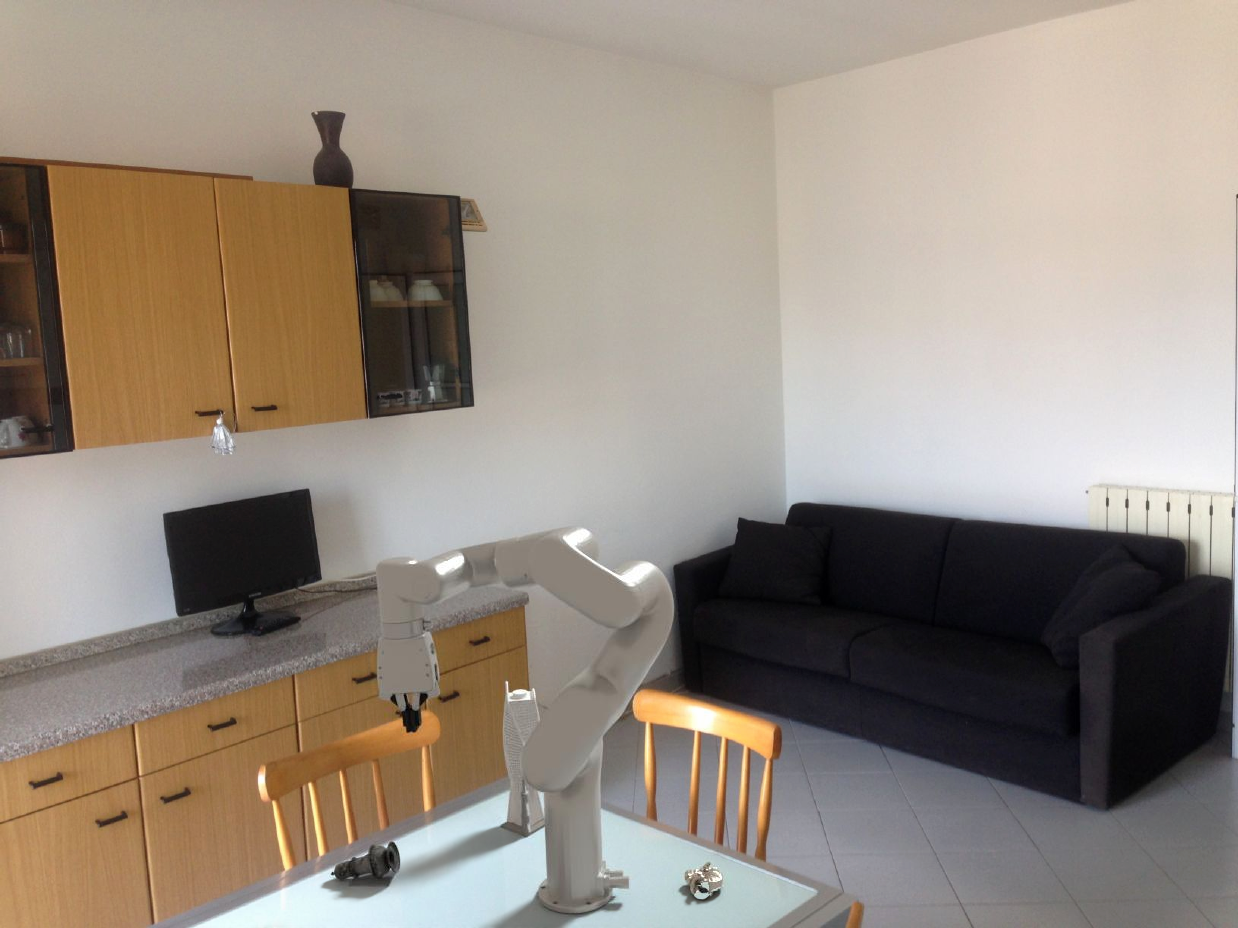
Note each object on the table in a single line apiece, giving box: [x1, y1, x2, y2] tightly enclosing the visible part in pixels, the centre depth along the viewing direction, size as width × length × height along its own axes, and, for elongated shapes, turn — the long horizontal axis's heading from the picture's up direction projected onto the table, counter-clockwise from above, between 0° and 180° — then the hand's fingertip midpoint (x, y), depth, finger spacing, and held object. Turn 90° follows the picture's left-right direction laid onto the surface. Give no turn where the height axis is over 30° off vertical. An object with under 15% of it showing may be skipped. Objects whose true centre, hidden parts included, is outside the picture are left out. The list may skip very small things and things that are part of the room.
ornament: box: [684, 861, 724, 895], centre depth 176 cm, size 8×7×4 cm
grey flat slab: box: [348, 869, 396, 887], centre depth 182 cm, size 7×5×1 cm
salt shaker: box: [330, 840, 401, 881], centre depth 182 cm, size 6×6×12 cm
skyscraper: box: [499, 680, 545, 838], centre depth 200 cm, size 8×8×28 cm
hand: (413, 729), depth 182 cm, fingers closed
